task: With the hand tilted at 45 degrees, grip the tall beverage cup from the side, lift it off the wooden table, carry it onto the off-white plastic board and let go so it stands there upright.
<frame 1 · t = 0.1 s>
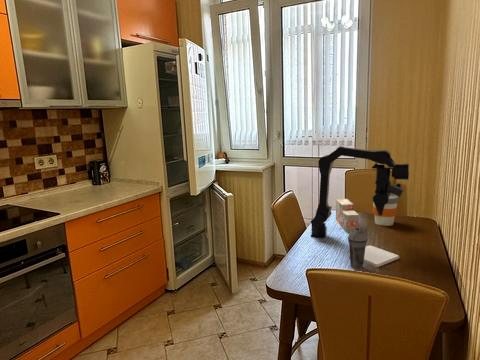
hand: (381, 212, 155), 15 cm above the table, tool pointing down, fingers open, 9 cm apart
patterned box: (346, 226, 184), on the table
reusable coffee cup: (384, 223, 185), on the table
board: (373, 256, 144), on the table
beverage cup: (356, 267, 135), on the table
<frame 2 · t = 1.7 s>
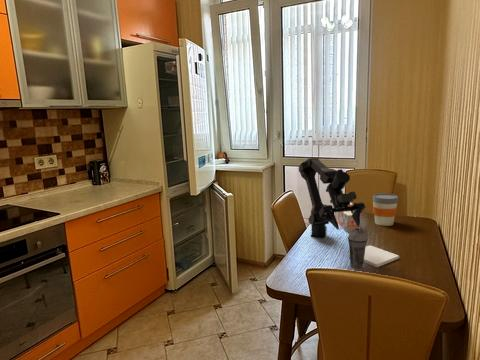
hand: (348, 227, 140), 13 cm above the table, tool tilted 45°, fingers open, 9 cm apart
nothing on the table moved.
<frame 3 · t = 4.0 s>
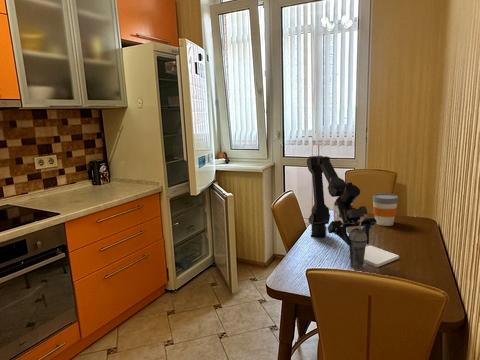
hand: (359, 244, 132), 10 cm above the table, tool tilted 45°, fingers closed on beverage cup, 7 cm apart
beverage cup: (356, 267, 135), on the table, touching gripper
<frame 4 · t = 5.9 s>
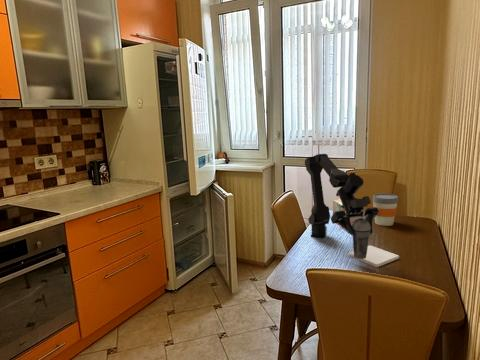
hand: (362, 234, 133), 13 cm above the table, tool tilted 45°, fingers closed on beverage cup, 7 cm apart
beverage cup: (359, 257, 136), point 3 cm above the table, touching gripper
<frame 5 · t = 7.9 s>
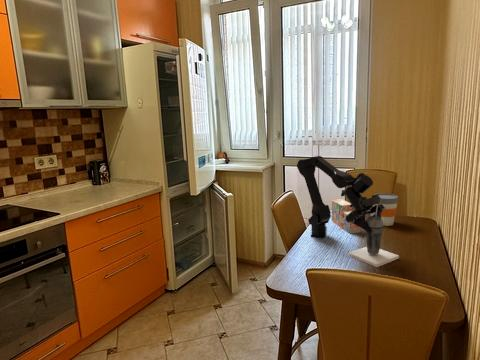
hand: (376, 230, 140), 12 cm above the table, tool tilted 45°, fingers closed on beverage cup, 7 cm apart
beverage cup: (373, 252, 144), point 2 cm above the table, touching gripper
when the fingers open (12 cm above the table, at t = 7.9 s): beverage cup stays where it is, resting on board.
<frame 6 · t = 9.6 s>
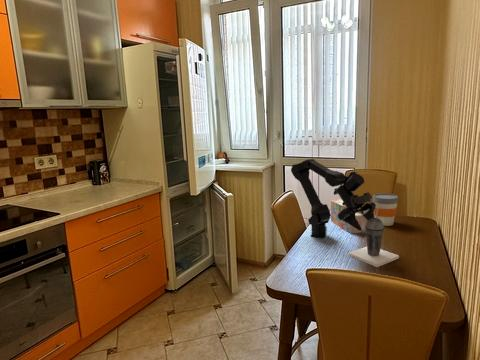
hand: (368, 228, 144), 12 cm above the table, tool tilted 45°, fingers open, 9 cm apart
beverage cup: (373, 254, 144), point 1 cm above the table, touching board
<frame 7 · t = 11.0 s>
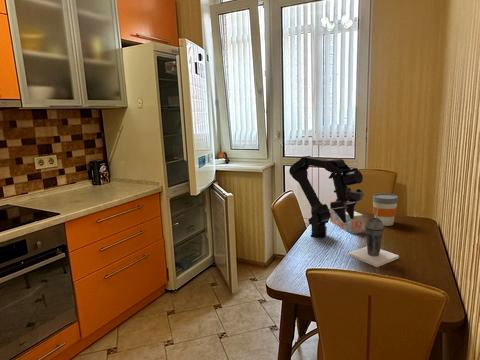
hand: (348, 220, 154), 12 cm above the table, tool tilted 15°, fingers open, 9 cm apart
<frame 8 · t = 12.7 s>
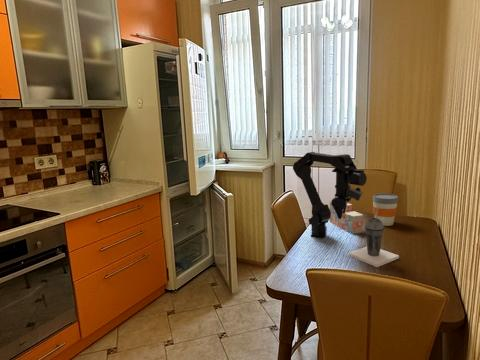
hand: (341, 216, 157), 13 cm above the table, tool pointing down, fingers open, 9 cm apart
at the end: beverage cup inside the target area on the board (0.0 cm from its centre), point 1.0 cm above the board's base; beverage cup tilted 0°; the gripper is holding nothing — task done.
